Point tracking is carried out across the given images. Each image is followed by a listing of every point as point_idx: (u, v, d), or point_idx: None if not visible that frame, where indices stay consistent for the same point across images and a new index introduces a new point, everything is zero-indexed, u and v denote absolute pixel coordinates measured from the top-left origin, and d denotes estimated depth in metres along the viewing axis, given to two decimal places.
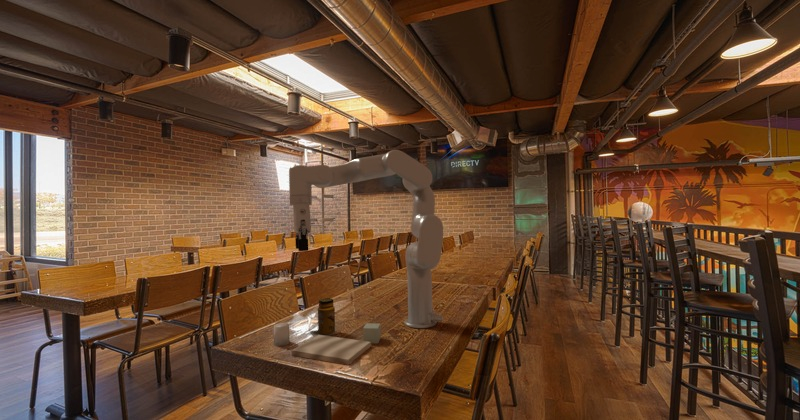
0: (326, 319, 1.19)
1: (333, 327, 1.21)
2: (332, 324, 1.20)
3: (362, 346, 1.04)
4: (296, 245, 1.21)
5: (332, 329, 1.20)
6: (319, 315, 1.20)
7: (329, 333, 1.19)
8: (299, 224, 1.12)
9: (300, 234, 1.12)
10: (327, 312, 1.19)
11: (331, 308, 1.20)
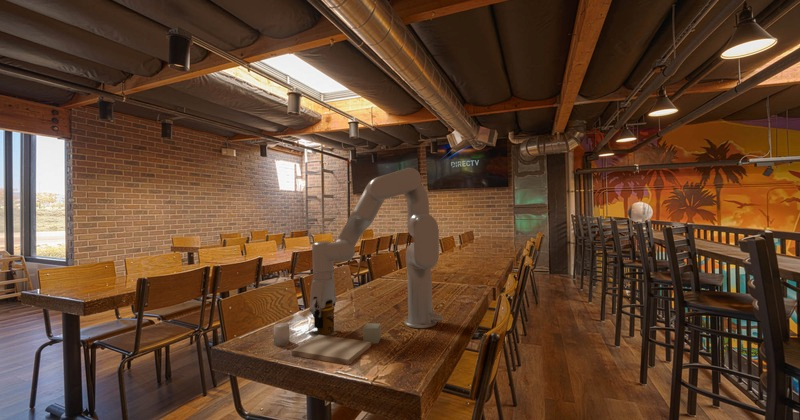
0: (325, 319, 1.18)
1: (332, 328, 1.20)
2: (331, 325, 1.20)
3: (362, 346, 1.04)
4: None
5: (331, 330, 1.20)
6: None
7: (328, 334, 1.19)
8: None
9: None
10: (326, 313, 1.19)
11: (330, 309, 1.20)
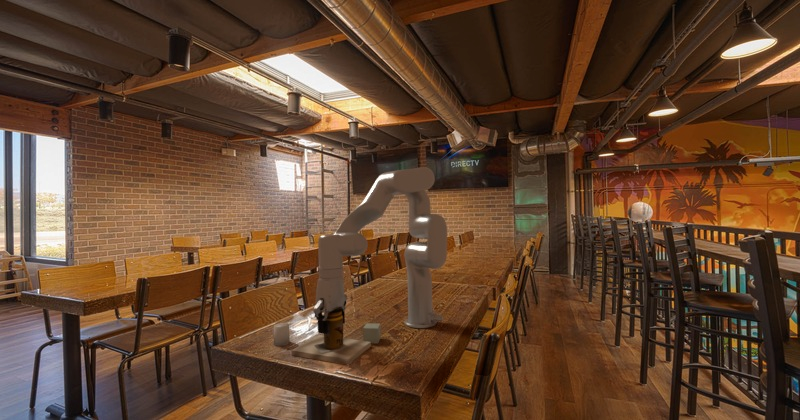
0: (333, 331, 1.02)
1: (341, 340, 1.04)
2: (340, 337, 1.03)
3: (362, 346, 1.04)
4: None
5: (340, 343, 1.03)
6: None
7: (337, 347, 1.02)
8: None
9: (343, 305, 1.10)
10: (335, 323, 1.02)
11: (339, 318, 1.03)
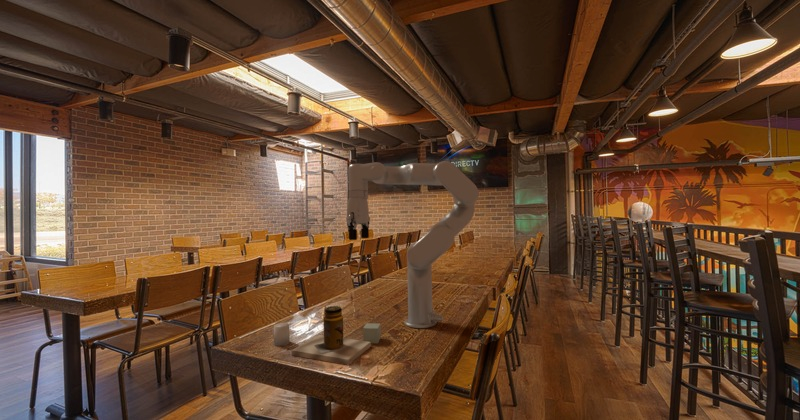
0: (333, 331, 1.02)
1: (341, 340, 1.04)
2: (340, 337, 1.03)
3: (362, 346, 1.04)
4: None
5: (340, 343, 1.03)
6: (325, 326, 1.03)
7: (337, 347, 1.02)
8: None
9: None
10: (335, 323, 1.02)
11: (339, 318, 1.03)
